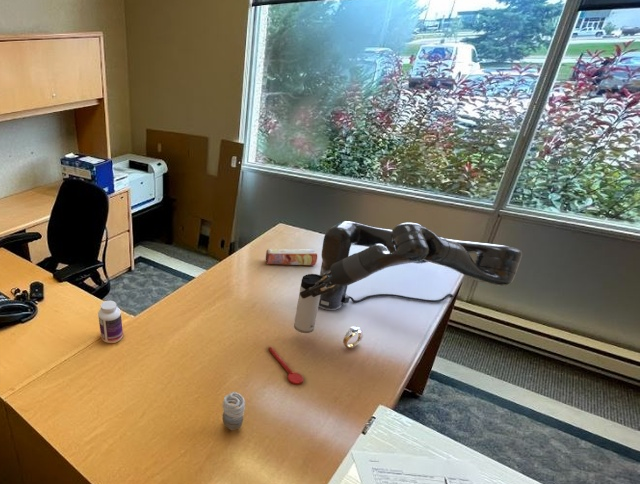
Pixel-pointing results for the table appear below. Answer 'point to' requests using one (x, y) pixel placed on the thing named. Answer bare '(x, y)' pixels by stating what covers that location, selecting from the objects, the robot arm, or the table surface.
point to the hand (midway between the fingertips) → (305, 290)
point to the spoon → (288, 370)
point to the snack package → (291, 257)
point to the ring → (355, 331)
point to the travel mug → (307, 306)
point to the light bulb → (233, 410)
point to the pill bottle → (110, 322)
